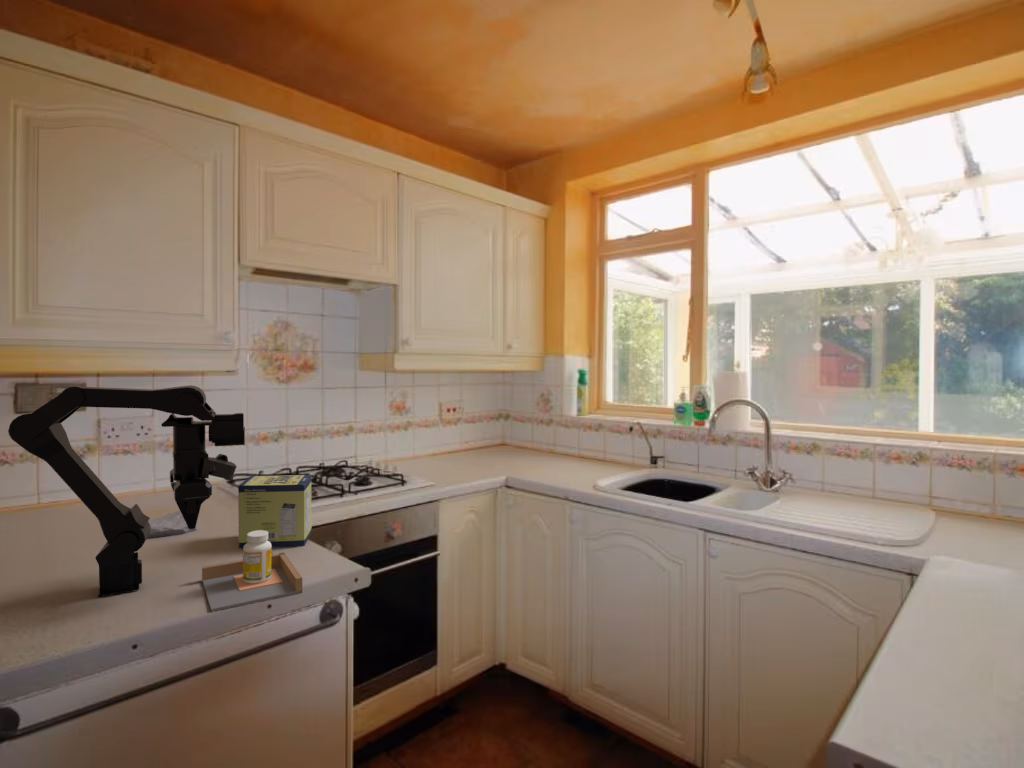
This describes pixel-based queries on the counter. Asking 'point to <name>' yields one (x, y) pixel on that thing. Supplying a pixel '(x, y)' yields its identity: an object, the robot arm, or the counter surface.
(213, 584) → the tray
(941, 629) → the counter surface
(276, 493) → the protein box
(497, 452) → the counter surface
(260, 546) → the supplement bottle
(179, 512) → the grey rock
